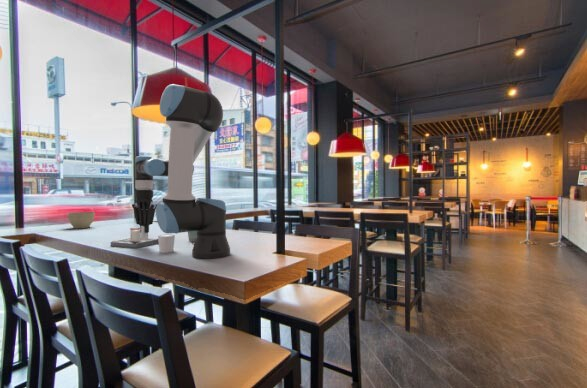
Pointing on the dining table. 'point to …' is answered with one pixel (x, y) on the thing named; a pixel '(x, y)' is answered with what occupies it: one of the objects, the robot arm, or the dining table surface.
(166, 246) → the white tapered cup
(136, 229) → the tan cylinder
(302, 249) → the dining table surface
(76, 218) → the planter bowl
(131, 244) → the dark grey tray
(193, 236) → the coffee cup
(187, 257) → the dining table surface
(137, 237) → the cylinder
